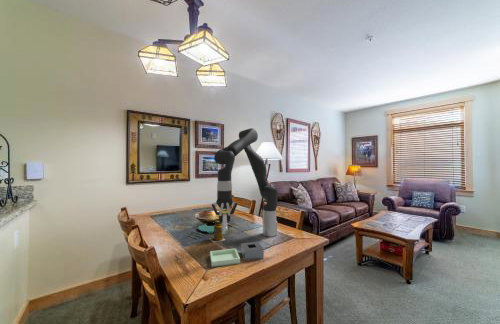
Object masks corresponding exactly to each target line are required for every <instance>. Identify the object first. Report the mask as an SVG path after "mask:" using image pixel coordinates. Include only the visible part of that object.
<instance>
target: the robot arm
mask: <svg viewBox="0 0 500 324" xmlns="http://www.w3.org/2000/svg"><path fill="white" fill-rule="evenodd" d="M257 141H258V131H257V130H256V129H255V128H252V127H250V128H247V129H244V130H240V131H239V133H238V139H236V140H234V141H232V142H231V143H230V144H228V145H227V146H226V147H223V148H221V149H218V150H217V151H215V154H214V156H213V158H214V162H215V163H216V164H218V165H224V167H223V168H221V169H218V171H217V184H216V188H217V191H216V198H217V199H216V202H214V203H211V208H212V209H213V211H214V213H215V215H216V216H218V220H219V222H220V223H222V213H221V212H222V211H223V209H227V211H229V212H228V215H227V223H228V224H229V223H230V222H231V215H233V214H235V211H236V209H237V207H238V202H235V201H233V193H232V191H233V184H232V183H233V182H232V172H233V168H234V167H233V166H234V164H235V159H236V157H237V156H238V154H240V153H241V152H242V151H243V150H244V152H245V154H246V156H247V160H248V161H249V165H250V167H251V170H252V172H253V175H254V177H255V180H256V183H257V186H258V189H259V193H260V196H261V197H262V199H264V200H266V204H264V205H262V235H263V236H265V237H275V236H278V220H277V208H278V207H277V206H278V203H279V202H278V197H279V194H278V193H279V192H278V189H277V187H274V186H271V185H269V184H268V182H267V177H266V176H267V166H266V163H265V161H264V159H263V157H262V156H260V154H258V153H257V151H255V150H254V149H253V147H252V146H251V144H253V143H255V142H257ZM217 206H218V208H219V210H217ZM231 206H232V207H231ZM230 207H231V210H230Z"/></svg>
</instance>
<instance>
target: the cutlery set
mask: <svg viewBox="0 0 500 324" xmlns="http://www.w3.org/2000/svg"><path fill="white" fill-rule="evenodd" d="M206 224H207V223H204V224H201V225H199V226H197V231H200V232H197V231H193V230H192V231H189V232H187V233H185V234H184V236H186V237H191V238H192V239H196V240H198V239H199V238H203V236H204V237H207V235H205V234H203V233H208V234H209V235H210V234H214V226H207V225H206ZM201 232H202V233H201Z"/></svg>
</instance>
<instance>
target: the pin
mask: <svg viewBox="0 0 500 324" xmlns="http://www.w3.org/2000/svg"><path fill="white" fill-rule="evenodd" d="M228 212H229V211H227V209H223V211H222V212H221V213H222V234H223V235H227V234H228V229H229V228H228V227H229V226H228V224H229V223H227V215H228Z"/></svg>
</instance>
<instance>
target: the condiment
mask: <svg viewBox="0 0 500 324" xmlns="http://www.w3.org/2000/svg"><path fill="white" fill-rule="evenodd" d="M214 222H215V225H214V232H213V237H211V238H209V240H210V242H212V243H213V244H214V243H217V242H222V241H226V238H224V234H222V223H220V222H219V219H217V220H214Z"/></svg>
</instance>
